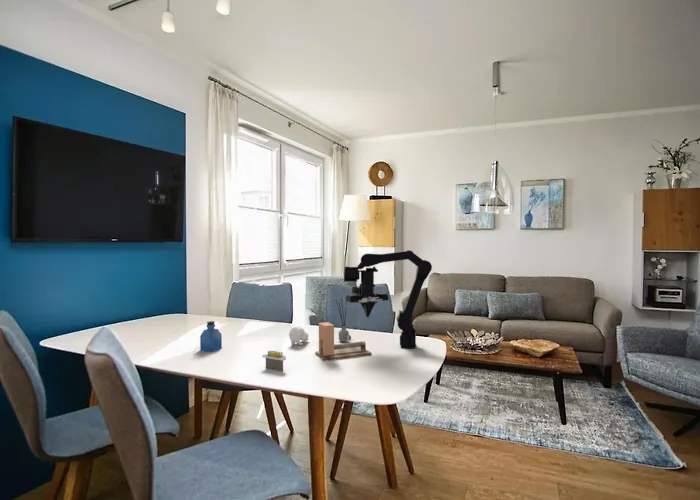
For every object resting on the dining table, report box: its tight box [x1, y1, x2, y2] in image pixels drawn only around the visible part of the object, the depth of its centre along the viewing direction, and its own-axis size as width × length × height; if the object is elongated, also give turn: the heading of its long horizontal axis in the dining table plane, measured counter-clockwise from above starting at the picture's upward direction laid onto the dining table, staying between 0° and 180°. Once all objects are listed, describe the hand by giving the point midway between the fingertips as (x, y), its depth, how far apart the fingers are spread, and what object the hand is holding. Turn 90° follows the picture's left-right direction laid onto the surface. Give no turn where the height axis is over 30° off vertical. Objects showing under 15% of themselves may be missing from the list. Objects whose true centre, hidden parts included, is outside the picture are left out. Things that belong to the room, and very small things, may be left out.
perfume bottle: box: [199, 320, 223, 353], centre depth 183 cm, size 6×6×12 cm
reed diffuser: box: [335, 298, 352, 342], centre depth 197 cm, size 10×7×20 cm
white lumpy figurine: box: [288, 325, 309, 346], centre depth 193 cm, size 6×8×12 cm
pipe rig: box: [314, 340, 372, 362], centre depth 174 cm, size 20×11×5 cm, turn 114°
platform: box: [262, 350, 287, 372], centre depth 155 cm, size 12×18×7 cm, turn 61°
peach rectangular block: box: [318, 321, 335, 356], centre depth 171 cm, size 4×7×12 cm, turn 24°
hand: (367, 316), depth 187 cm, fingers closed
